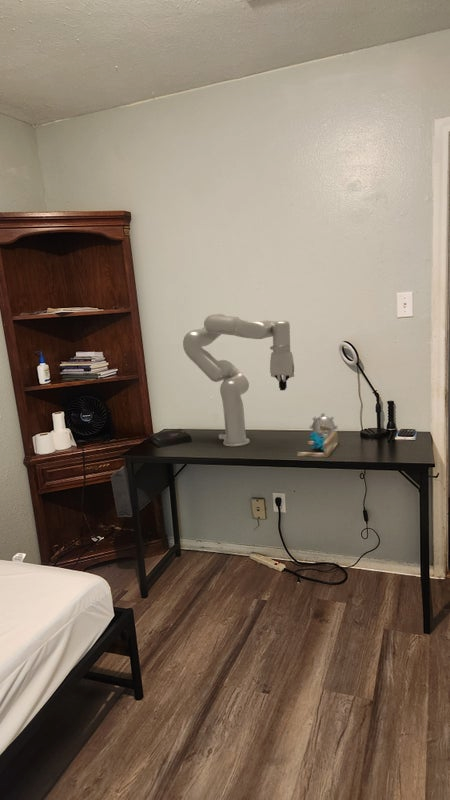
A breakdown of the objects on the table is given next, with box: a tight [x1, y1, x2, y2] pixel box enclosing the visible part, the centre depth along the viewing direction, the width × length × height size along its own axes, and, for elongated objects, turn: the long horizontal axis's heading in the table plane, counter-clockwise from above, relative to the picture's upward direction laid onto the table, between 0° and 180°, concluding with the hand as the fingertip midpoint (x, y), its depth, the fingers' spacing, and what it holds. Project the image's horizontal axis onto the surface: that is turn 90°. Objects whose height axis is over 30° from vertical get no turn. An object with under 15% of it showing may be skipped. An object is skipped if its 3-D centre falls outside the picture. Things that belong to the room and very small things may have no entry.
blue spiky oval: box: [309, 431, 327, 452], centre depth 226 cm, size 11×6×10 cm
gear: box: [309, 412, 339, 439], centre depth 235 cm, size 12×3×13 cm, turn 66°
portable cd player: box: [149, 428, 193, 448], centre depth 262 cm, size 16×17×4 cm
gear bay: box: [296, 430, 338, 458], centre depth 225 cm, size 13×20×6 cm, turn 156°
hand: (282, 389), depth 231 cm, fingers closed
